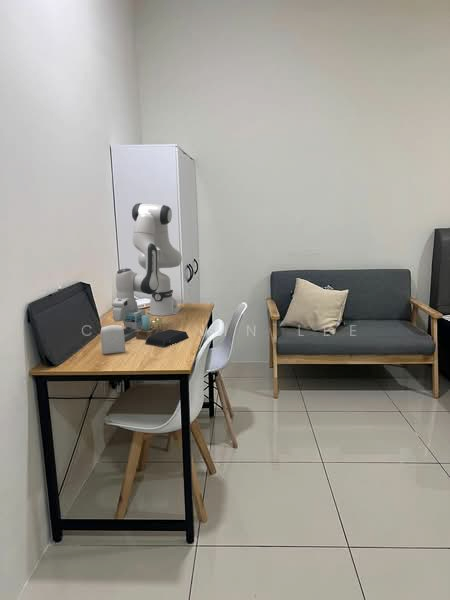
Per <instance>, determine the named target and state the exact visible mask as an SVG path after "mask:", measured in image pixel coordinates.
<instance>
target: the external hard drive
mask: <svg viewBox="0 0 450 600" xmlns="http://www.w3.org/2000/svg"><path fill="white" fill-rule="evenodd" d="M188 339H189V335H188V333H187V331H185V330H184V331H183V330H178V329H172V328H171V329H165V330H162V331H161V332H158V333H155V334H153V335H151V336H149V337H148V338H147V340H146V341H145V344H144V345H148V346H152V347H158V348H167V347H171V346H173V345H172V344H174V345H175V343H176V344H178V342H179V343H181V342H183V341H185V340H188ZM180 341H181V342H180ZM170 345H171V346H170Z"/></svg>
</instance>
